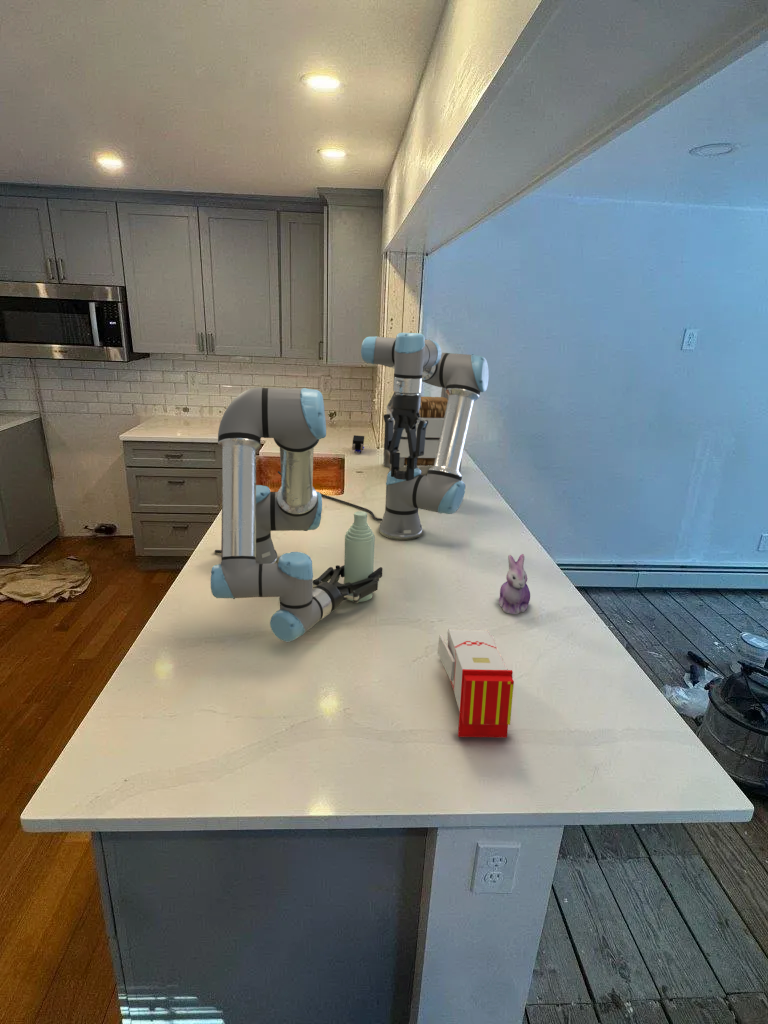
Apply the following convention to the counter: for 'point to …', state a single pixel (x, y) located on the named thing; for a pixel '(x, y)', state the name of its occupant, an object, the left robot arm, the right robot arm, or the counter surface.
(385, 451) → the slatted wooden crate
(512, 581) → the figurine
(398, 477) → the cap
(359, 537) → the bottle
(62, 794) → the counter surface
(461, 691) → the toy
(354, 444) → the figurine character
